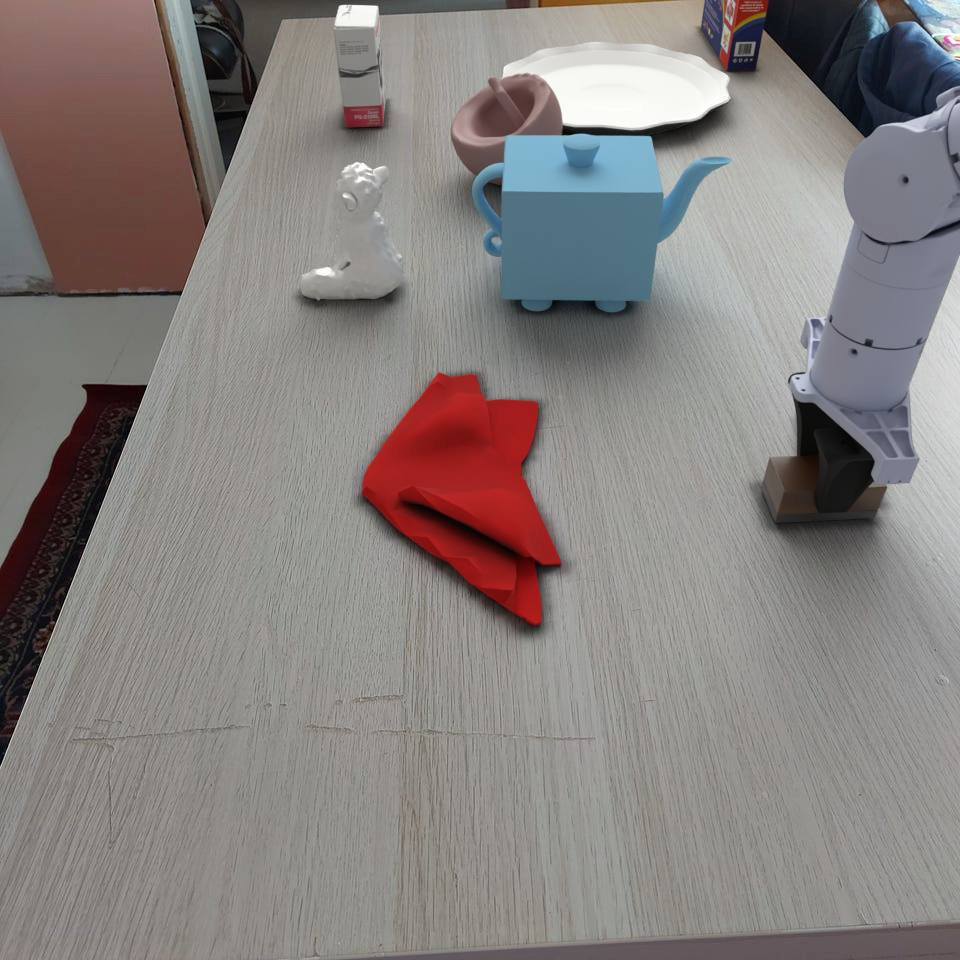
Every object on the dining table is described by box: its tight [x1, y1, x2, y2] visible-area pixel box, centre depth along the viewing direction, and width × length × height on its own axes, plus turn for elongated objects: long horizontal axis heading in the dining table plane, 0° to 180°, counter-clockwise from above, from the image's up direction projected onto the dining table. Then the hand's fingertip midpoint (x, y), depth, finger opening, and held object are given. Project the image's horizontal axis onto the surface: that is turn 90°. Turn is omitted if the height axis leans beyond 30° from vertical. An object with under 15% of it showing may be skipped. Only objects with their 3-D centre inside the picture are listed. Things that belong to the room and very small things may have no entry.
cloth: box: [361, 371, 563, 627], centre depth 65 cm, size 26×14×2 cm, turn 1°
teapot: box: [471, 133, 733, 313], centre depth 81 cm, size 22×11×14 cm, turn 87°
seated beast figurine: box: [299, 161, 405, 301], centre depth 82 cm, size 10×9×12 cm
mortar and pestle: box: [450, 73, 563, 186], centre depth 98 cm, size 12×12×12 cm
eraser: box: [760, 455, 888, 524], centre depth 63 cm, size 7×4×3 cm, turn 93°
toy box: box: [700, 0, 770, 72], centre depth 127 cm, size 18×4×12 cm, turn 1°
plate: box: [500, 41, 731, 136], centre depth 117 cm, size 29×29×2 cm
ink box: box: [333, 4, 387, 129], centre depth 112 cm, size 8×5×12 cm, turn 2°
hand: (821, 488), depth 63 cm, fingers closed on eraser, 3 cm apart
